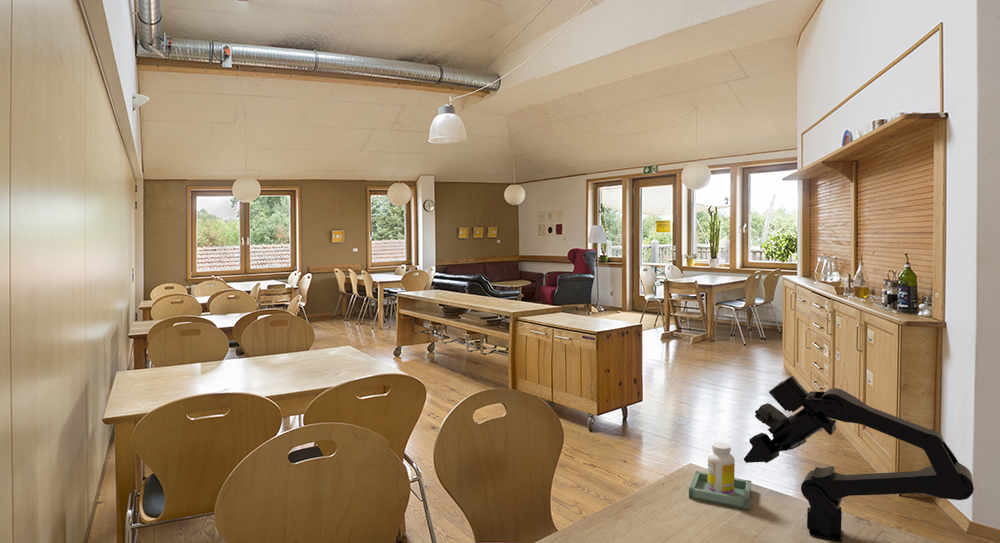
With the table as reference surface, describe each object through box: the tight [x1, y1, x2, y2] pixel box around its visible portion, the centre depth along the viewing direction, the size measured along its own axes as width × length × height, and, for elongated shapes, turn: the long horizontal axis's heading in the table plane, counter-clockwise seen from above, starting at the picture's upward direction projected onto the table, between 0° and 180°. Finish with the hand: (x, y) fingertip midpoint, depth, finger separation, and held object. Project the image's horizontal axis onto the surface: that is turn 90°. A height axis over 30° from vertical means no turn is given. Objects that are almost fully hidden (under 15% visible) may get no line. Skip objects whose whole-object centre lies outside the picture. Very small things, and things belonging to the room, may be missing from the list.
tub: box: [688, 470, 752, 511], centre depth 153 cm, size 14×12×2 cm
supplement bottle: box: [707, 441, 736, 495], centre depth 153 cm, size 7×7×13 cm
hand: (754, 456), depth 145 cm, fingers open, 9 cm apart
